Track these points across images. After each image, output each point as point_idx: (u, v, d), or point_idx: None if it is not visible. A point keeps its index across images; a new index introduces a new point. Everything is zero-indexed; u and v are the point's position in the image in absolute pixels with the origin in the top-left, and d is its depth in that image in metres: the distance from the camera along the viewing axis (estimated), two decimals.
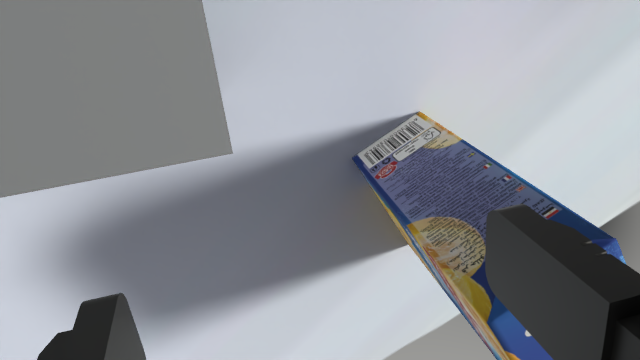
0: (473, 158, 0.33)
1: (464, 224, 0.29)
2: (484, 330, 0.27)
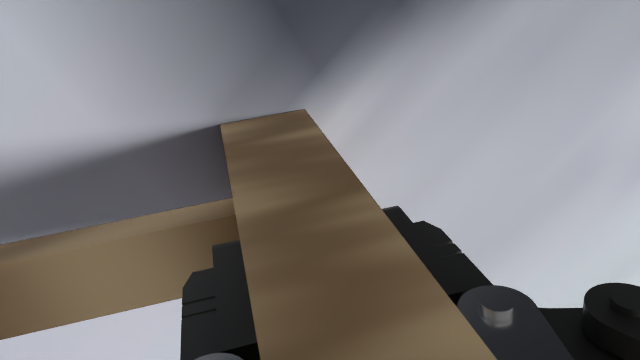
0: None
1: None
2: None
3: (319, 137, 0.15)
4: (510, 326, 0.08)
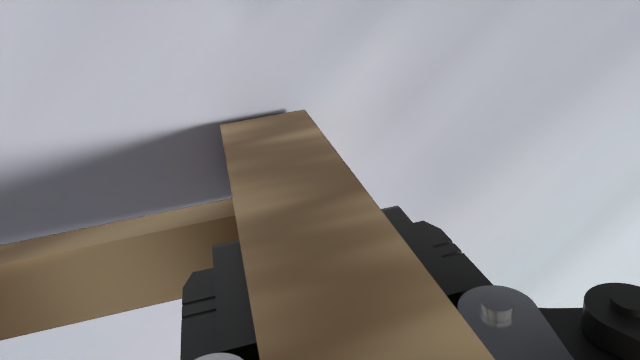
0: None
1: None
2: None
3: (318, 137, 0.15)
4: (510, 326, 0.08)
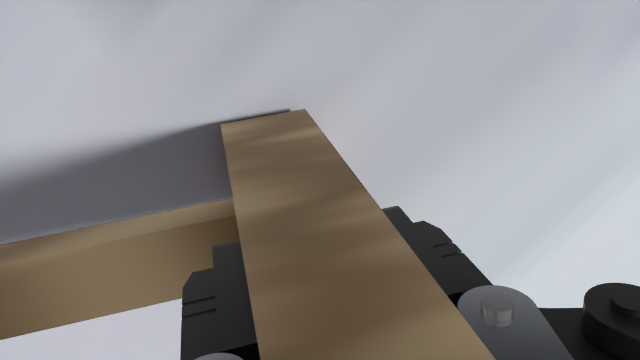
0: None
1: None
2: None
3: (319, 137, 0.15)
4: (510, 326, 0.08)
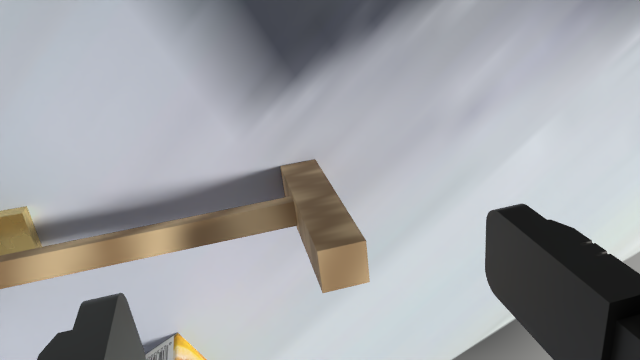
0: None
1: None
2: None
3: (321, 173, 0.40)
4: None
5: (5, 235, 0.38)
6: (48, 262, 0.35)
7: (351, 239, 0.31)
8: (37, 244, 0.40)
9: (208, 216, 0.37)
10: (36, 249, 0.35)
